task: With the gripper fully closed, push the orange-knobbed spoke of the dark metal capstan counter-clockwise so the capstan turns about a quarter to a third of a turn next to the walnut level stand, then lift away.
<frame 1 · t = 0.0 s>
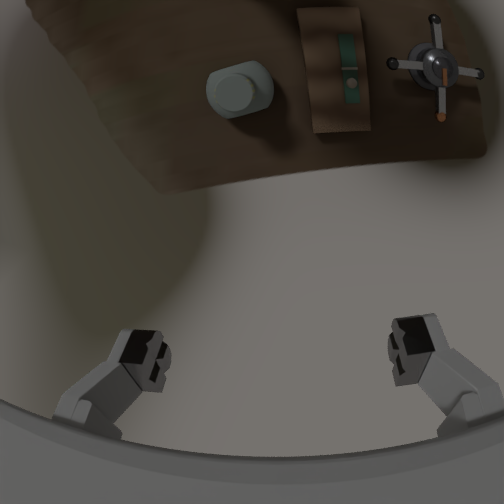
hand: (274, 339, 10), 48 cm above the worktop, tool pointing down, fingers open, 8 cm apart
air freshener: (242, 87, 48), on the worktop
capstan: (438, 67, 38), point 4 cm above the worktop, hinge at 0.0°
level stand: (334, 68, 44), on the worktop
pedestal: (429, 66, 41), on the worktop
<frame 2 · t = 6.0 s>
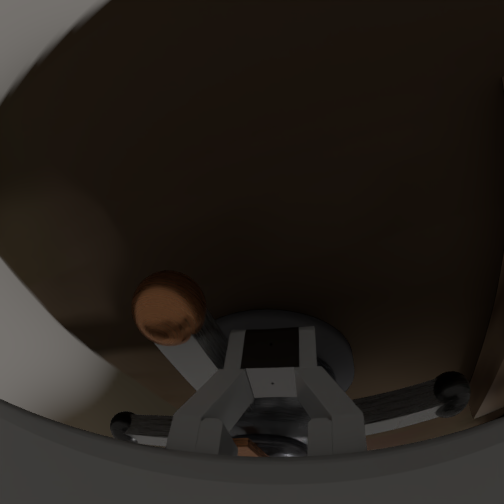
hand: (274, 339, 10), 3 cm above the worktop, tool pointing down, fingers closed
capstan: (266, 424, 14), point 4 cm above the worktop, hinge at 0.0°, touching gripper
pedestal: (270, 366, 17), on the worktop
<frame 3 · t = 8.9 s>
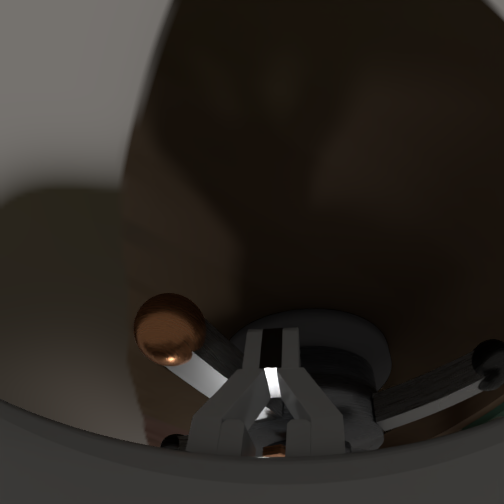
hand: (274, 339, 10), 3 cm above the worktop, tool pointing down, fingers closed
capstan: (307, 426, 13), point 4 cm above the worktop, hinge at 65.7°, touching gripper
level stand: (467, 408, 20), on the worktop
pedestal: (306, 366, 16), on the worktop
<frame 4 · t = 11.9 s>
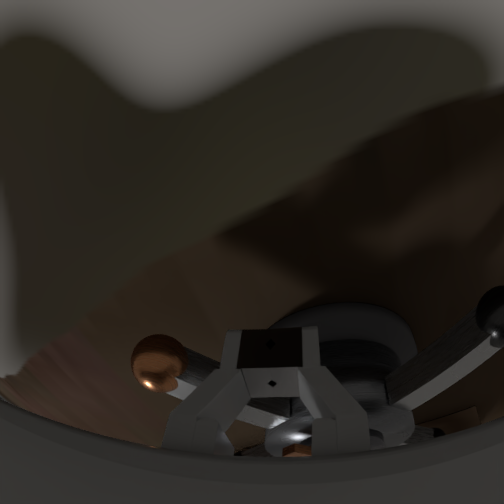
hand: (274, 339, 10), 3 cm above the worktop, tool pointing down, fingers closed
capstan: (339, 420, 13), point 4 cm above the worktop, hinge at 130.0°
level stand: (362, 452, 25), on the worktop
pedestal: (334, 361, 16), on the worktop
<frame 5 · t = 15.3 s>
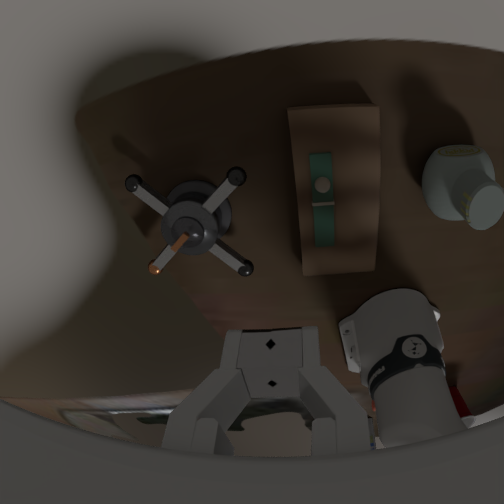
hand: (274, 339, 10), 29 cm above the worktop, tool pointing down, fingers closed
air freshener: (449, 172, 34), on the worktop
light bulb box: (354, 424, 75), on the worktop
capstan: (191, 225, 38), point 4 cm above the worktop, hinge at 130.0°
plastic cup: (447, 390, 64), on the worktop
level stand: (336, 191, 38), on the worktop
pedestal: (198, 211, 41), on the worktop
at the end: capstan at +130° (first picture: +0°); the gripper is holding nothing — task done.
